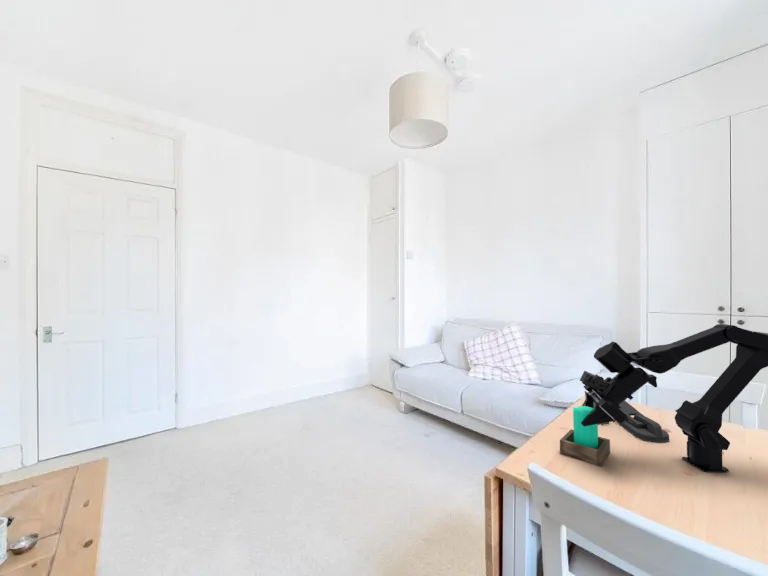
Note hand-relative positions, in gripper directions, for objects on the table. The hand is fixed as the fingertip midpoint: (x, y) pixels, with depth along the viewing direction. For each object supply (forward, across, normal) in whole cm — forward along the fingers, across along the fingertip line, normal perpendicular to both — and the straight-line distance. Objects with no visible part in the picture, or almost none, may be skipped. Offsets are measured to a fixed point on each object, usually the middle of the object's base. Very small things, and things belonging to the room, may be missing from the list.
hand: (579, 420), depth 94 cm
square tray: (+6, 0, +7) cm, 9 cm away
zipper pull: (-8, -26, +21) cm, 34 cm away
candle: (+4, 0, +6) cm, 7 cm away
